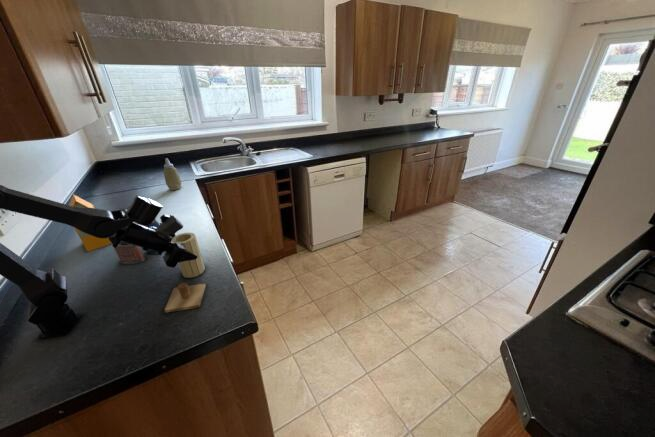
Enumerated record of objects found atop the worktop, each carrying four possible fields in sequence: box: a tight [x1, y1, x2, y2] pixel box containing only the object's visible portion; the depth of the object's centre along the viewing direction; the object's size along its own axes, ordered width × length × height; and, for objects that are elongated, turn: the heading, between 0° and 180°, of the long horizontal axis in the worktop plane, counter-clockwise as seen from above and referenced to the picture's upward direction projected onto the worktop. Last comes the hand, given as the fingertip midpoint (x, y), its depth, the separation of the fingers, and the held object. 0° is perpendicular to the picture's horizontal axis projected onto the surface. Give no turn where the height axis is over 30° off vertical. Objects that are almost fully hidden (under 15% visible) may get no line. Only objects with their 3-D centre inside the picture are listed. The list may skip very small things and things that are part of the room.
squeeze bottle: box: [163, 157, 182, 191], centre depth 154 cm, size 8×8×18 cm
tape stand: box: [164, 282, 207, 314], centre depth 78 cm, size 9×9×5 cm
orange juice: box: [68, 193, 112, 252], centre depth 102 cm, size 8×9×20 cm
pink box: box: [111, 241, 146, 265], centre depth 93 cm, size 8×3×10 cm, turn 92°
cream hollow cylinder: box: [171, 232, 206, 279], centre depth 87 cm, size 7×7×13 cm
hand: (193, 253), depth 88 cm, fingers closed on cream hollow cylinder, 7 cm apart
